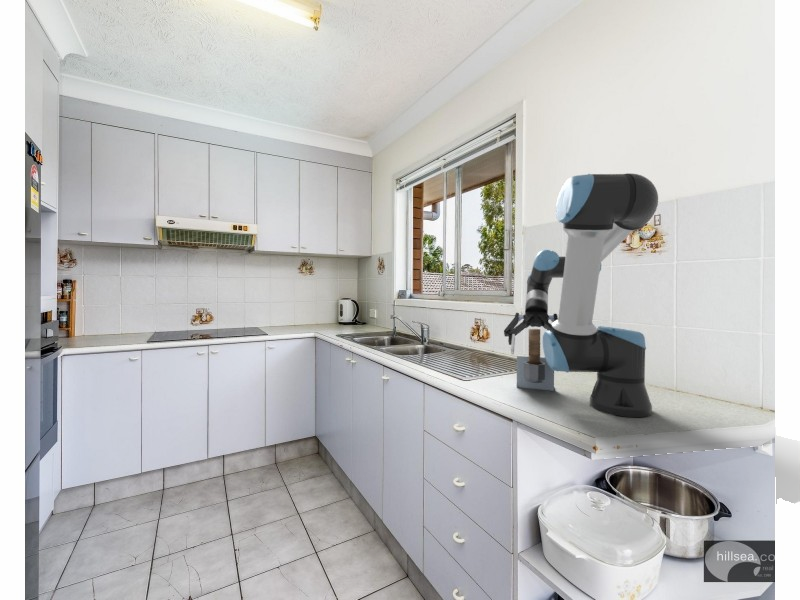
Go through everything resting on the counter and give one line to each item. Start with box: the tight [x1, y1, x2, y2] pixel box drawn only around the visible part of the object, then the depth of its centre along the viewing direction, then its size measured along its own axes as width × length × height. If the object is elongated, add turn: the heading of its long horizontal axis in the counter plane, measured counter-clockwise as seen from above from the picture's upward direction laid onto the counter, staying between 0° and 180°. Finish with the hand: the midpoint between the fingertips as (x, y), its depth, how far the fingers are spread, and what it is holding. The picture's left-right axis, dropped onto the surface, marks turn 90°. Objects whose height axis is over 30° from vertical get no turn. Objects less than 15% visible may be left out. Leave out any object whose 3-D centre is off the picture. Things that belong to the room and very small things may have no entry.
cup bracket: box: [524, 361, 545, 383], centre depth 118 cm, size 8×6×6 cm
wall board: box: [516, 355, 555, 392], centre depth 124 cm, size 5×12×11 cm, turn 67°
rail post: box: [528, 328, 541, 365], centre depth 117 cm, size 4×4×16 cm
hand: (534, 353), depth 114 cm, fingers open, 13 cm apart
